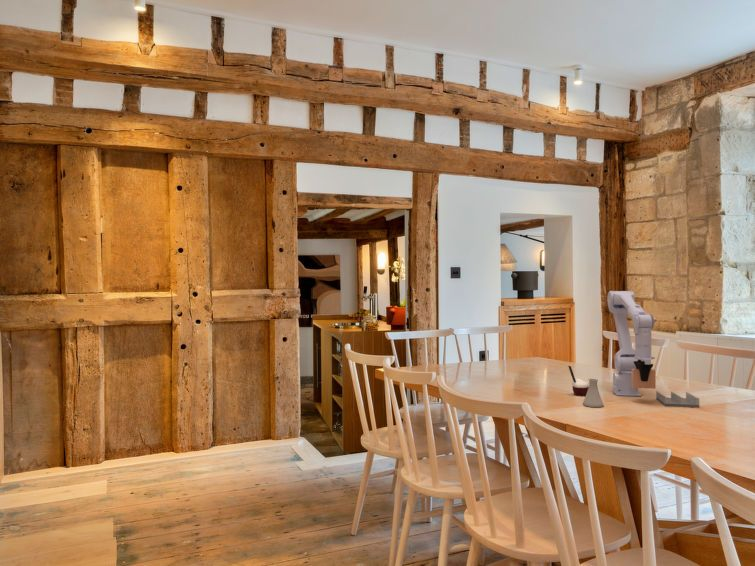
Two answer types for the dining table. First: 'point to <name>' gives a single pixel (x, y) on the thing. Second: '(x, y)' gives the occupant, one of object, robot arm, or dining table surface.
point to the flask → (593, 395)
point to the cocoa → (578, 385)
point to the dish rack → (678, 400)
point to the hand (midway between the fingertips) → (643, 380)
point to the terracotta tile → (638, 383)
